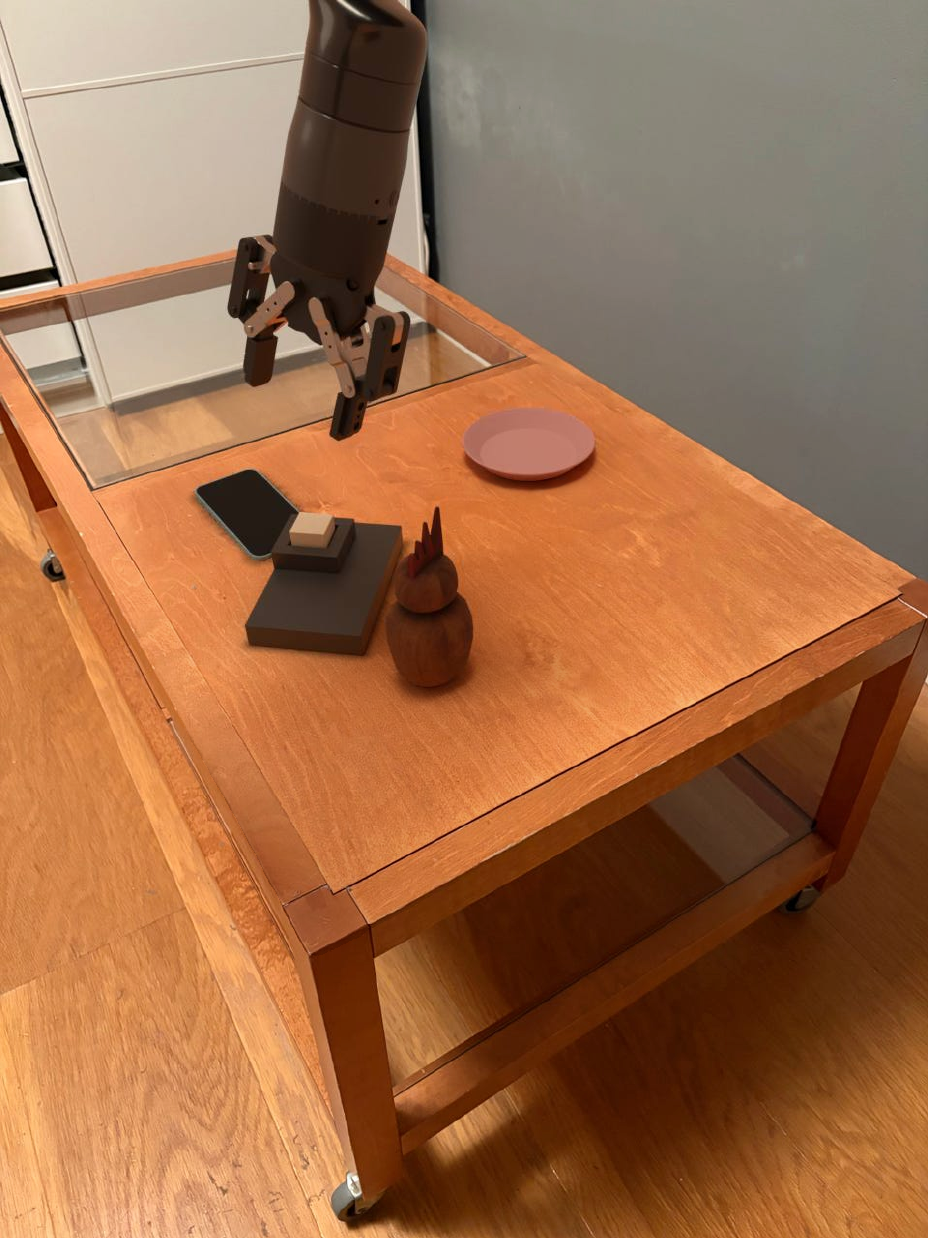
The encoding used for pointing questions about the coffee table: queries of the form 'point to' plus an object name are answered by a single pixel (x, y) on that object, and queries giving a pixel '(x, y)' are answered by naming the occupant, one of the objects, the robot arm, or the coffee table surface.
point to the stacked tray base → (326, 589)
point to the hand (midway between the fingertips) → (298, 409)
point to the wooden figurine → (428, 614)
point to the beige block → (312, 530)
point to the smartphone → (247, 510)
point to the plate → (528, 443)
